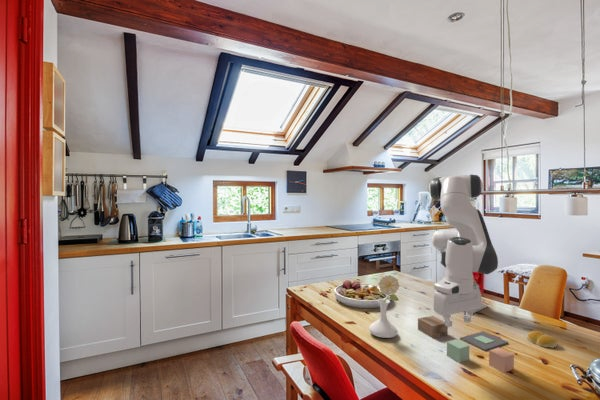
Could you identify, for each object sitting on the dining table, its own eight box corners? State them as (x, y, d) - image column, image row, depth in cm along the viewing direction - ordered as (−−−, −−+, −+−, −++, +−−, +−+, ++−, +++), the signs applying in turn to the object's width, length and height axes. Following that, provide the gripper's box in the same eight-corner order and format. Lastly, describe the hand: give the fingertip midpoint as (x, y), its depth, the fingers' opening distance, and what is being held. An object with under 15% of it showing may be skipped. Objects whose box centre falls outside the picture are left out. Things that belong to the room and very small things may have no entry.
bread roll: (548, 350, 112) (548, 340, 112) (523, 339, 121) (523, 329, 121) (562, 346, 115) (562, 336, 115) (537, 336, 124) (537, 326, 124)
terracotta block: (498, 361, 104) (498, 347, 104) (513, 369, 100) (514, 354, 100) (488, 365, 102) (489, 350, 102) (504, 373, 98) (504, 357, 98)
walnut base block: (432, 327, 132) (432, 315, 131) (447, 335, 124) (447, 323, 124) (417, 330, 129) (418, 318, 129) (432, 338, 121) (432, 326, 121)
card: (483, 332, 126) (483, 330, 126) (508, 343, 117) (508, 341, 117) (460, 339, 120) (460, 337, 120) (484, 351, 111) (484, 348, 111)
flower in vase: (363, 332, 125) (363, 272, 125) (380, 325, 132) (381, 268, 132) (389, 345, 115) (390, 279, 114) (407, 337, 122) (408, 275, 121)
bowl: (402, 303, 161) (403, 288, 161) (362, 315, 144) (363, 298, 144) (361, 288, 186) (361, 275, 186) (323, 297, 169) (323, 283, 169)
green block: (456, 352, 110) (456, 339, 110) (469, 359, 106) (469, 345, 105) (446, 355, 108) (447, 342, 108) (459, 363, 103) (459, 348, 103)
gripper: (470, 279, 113) (469, 316, 114) (430, 285, 105) (429, 325, 105) (486, 283, 108) (486, 322, 108) (446, 290, 99) (445, 332, 99)
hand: (458, 323), depth 106 cm, fingers open, 8 cm apart
